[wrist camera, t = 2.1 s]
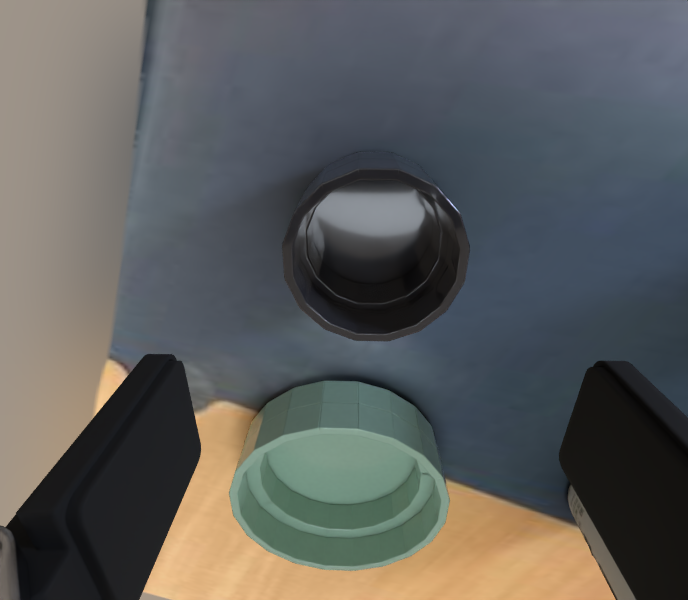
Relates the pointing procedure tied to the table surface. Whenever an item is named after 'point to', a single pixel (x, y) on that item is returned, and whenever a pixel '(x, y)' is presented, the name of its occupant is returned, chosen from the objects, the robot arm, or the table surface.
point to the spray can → (599, 549)
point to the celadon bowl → (340, 477)
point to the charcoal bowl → (375, 248)
